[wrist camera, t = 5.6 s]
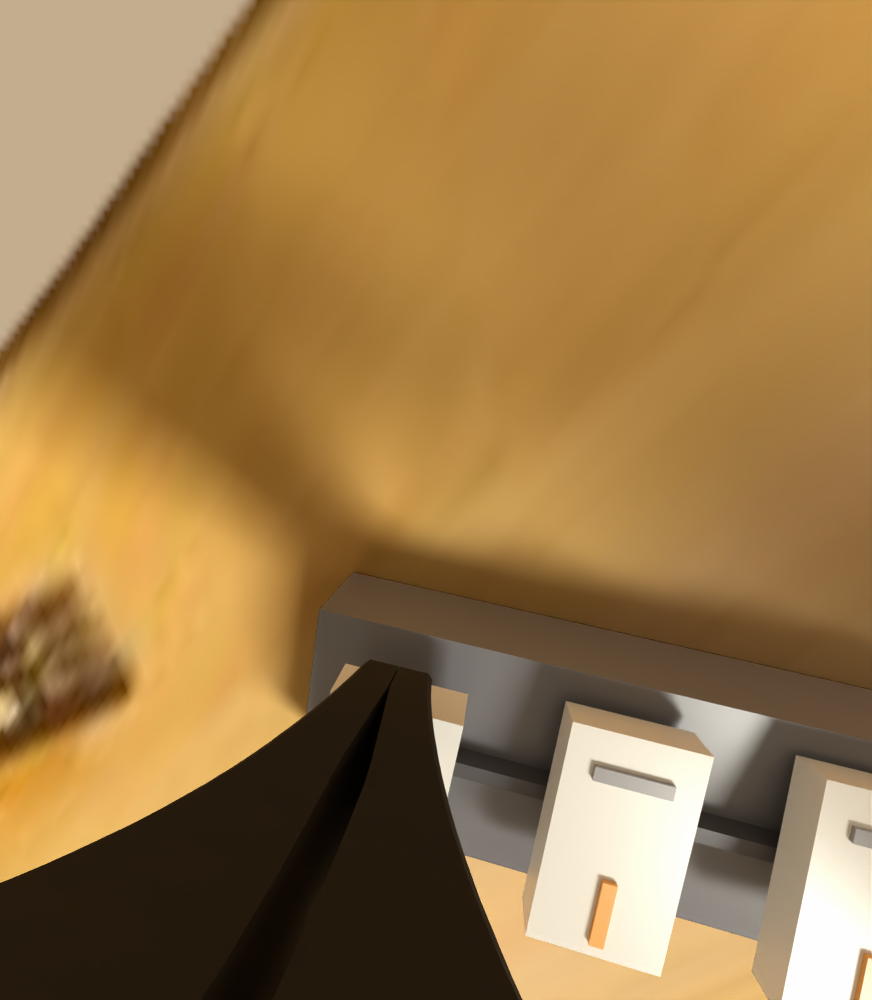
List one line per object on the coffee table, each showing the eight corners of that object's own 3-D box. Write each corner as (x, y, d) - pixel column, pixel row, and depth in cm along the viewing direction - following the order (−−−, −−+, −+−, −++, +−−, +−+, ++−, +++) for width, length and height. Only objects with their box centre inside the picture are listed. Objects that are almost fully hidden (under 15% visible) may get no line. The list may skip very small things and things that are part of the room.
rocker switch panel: (901, 696, 12) (1030, 792, 9) (817, 872, 13) (905, 1005, 10) (352, 571, 13) (310, 618, 11) (329, 740, 15) (286, 821, 12)
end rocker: (468, 694, 10) (462, 730, 9) (434, 844, 11) (427, 888, 10) (345, 663, 10) (327, 695, 9) (329, 813, 12) (313, 854, 11)
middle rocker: (694, 732, 10) (716, 760, 9) (645, 933, 10) (662, 982, 9) (565, 701, 10) (573, 724, 9) (522, 897, 11) (525, 940, 10)
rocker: (937, 789, 10) (990, 822, 9) (891, 1013, 10) (938, 1071, 9) (796, 754, 10) (830, 782, 9) (751, 970, 10) (781, 1023, 9)
